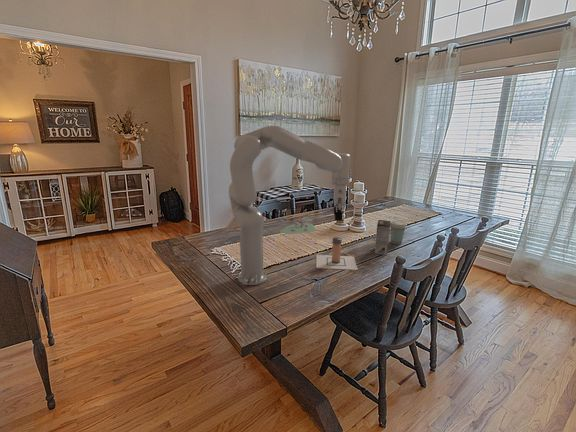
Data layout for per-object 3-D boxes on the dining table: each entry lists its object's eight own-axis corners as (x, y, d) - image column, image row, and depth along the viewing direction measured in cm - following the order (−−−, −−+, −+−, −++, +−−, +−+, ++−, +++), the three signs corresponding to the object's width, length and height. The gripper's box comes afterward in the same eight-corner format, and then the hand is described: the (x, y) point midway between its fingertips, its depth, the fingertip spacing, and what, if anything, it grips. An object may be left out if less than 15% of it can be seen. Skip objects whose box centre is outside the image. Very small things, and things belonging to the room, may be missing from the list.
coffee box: (376, 247, 168) (378, 219, 163) (388, 249, 166) (391, 220, 161) (374, 253, 160) (376, 224, 155) (386, 255, 157) (390, 225, 153)
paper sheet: (357, 270, 141) (357, 269, 140) (316, 268, 142) (316, 267, 142) (353, 257, 155) (353, 256, 155) (316, 255, 157) (316, 254, 157)
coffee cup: (390, 239, 181) (392, 219, 177) (405, 241, 176) (407, 222, 173) (386, 243, 174) (388, 223, 170) (402, 246, 169) (404, 226, 166)
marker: (340, 263, 146) (341, 240, 143) (331, 263, 147) (332, 240, 143) (339, 260, 150) (341, 237, 147) (331, 259, 151) (332, 237, 147)
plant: (296, 238, 182) (297, 224, 180) (272, 230, 196) (272, 217, 193) (322, 229, 200) (322, 215, 197) (298, 222, 213) (298, 210, 211)
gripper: (350, 184, 129) (347, 223, 134) (346, 178, 146) (344, 213, 150) (332, 183, 130) (330, 222, 134) (331, 178, 146) (329, 212, 151)
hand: (337, 217), depth 142 cm, fingers open, 9 cm apart
